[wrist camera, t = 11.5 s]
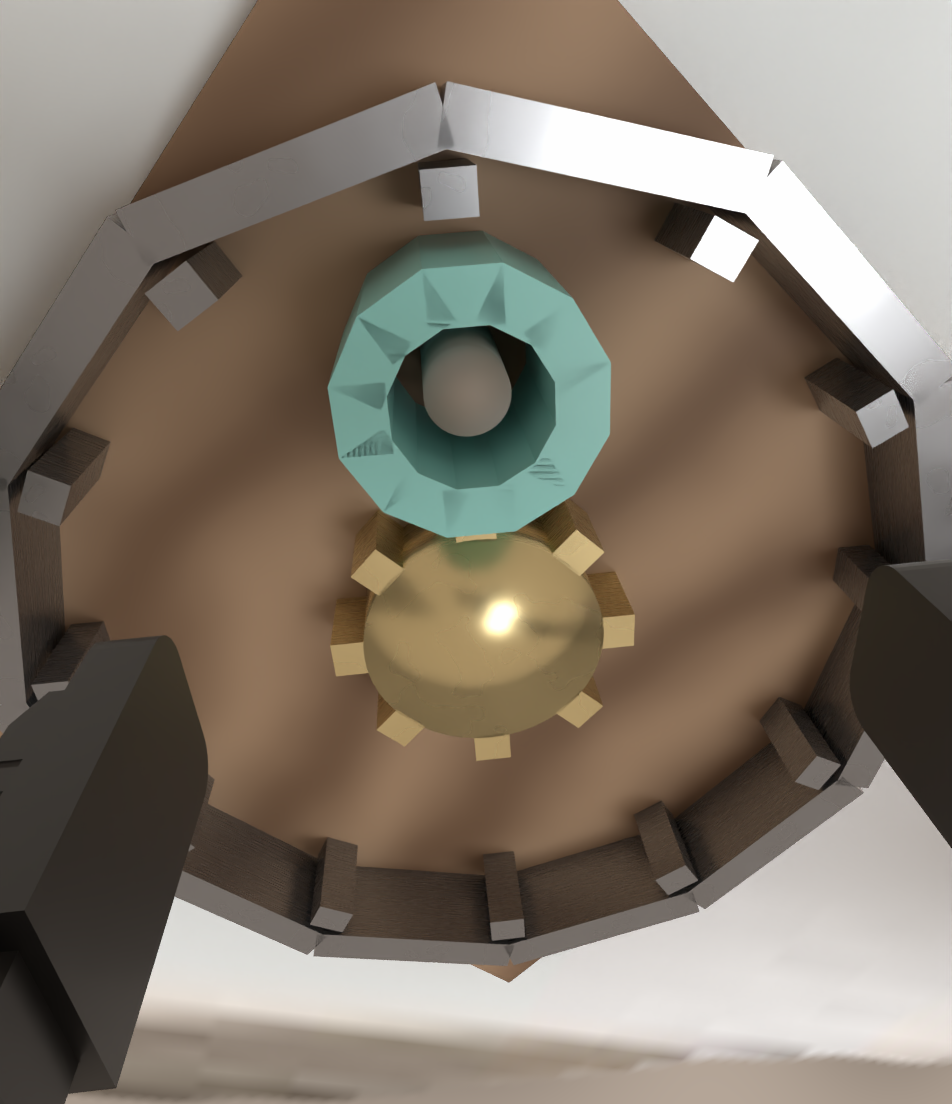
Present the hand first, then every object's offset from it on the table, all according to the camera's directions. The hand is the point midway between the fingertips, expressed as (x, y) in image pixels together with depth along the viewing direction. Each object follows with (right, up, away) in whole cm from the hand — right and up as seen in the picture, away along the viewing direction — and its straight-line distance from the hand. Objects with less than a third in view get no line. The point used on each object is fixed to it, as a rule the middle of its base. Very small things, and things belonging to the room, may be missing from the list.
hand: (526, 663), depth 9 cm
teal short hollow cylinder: (-1, +7, +12) cm, 14 cm away
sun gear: (-1, 0, +16) cm, 16 cm away
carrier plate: (-1, +1, +17) cm, 17 cm away
